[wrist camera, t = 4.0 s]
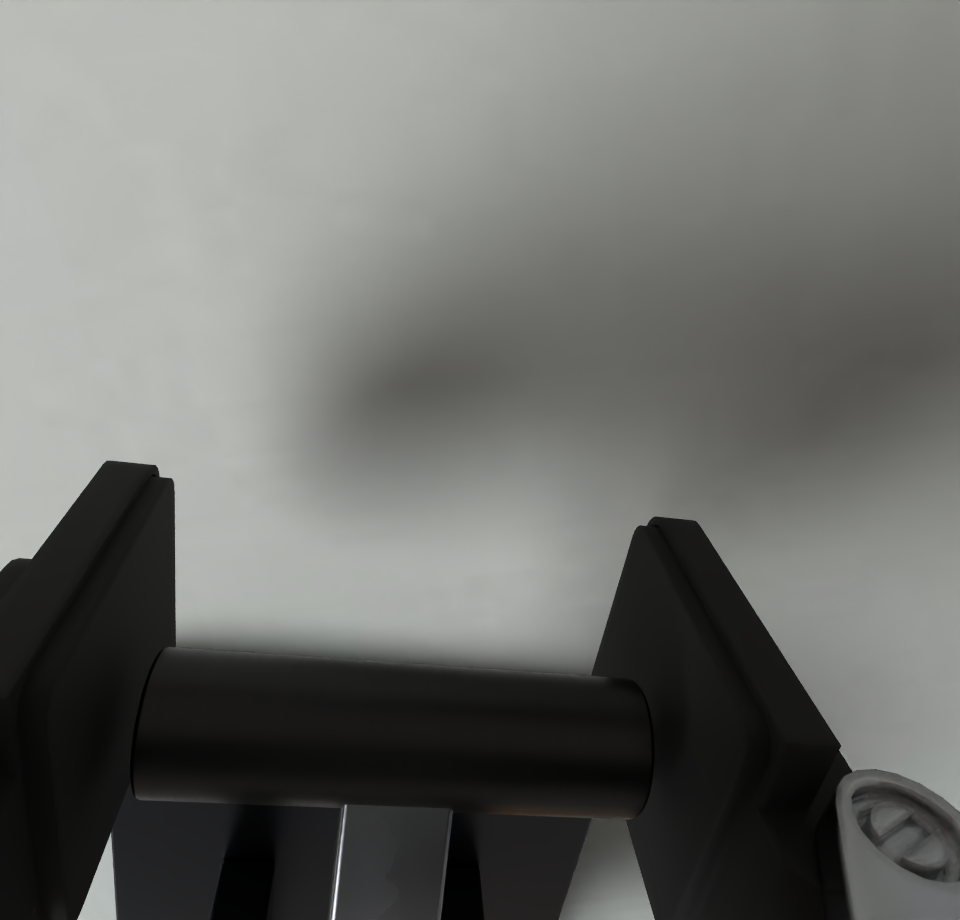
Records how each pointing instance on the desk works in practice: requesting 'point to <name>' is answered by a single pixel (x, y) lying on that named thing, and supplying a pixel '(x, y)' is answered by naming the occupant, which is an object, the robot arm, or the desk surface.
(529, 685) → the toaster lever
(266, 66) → the desk surface
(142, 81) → the desk surface
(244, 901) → the black lever device
